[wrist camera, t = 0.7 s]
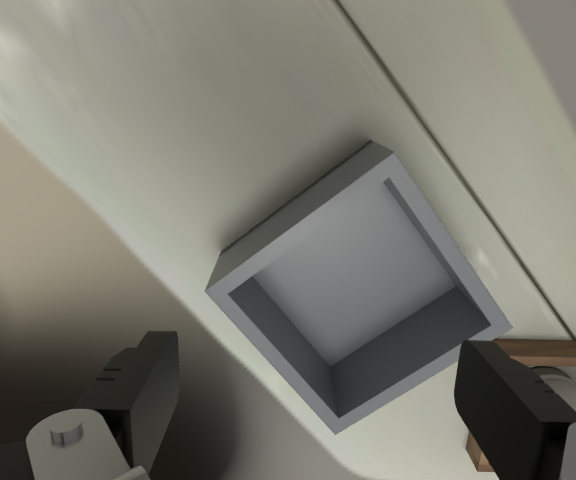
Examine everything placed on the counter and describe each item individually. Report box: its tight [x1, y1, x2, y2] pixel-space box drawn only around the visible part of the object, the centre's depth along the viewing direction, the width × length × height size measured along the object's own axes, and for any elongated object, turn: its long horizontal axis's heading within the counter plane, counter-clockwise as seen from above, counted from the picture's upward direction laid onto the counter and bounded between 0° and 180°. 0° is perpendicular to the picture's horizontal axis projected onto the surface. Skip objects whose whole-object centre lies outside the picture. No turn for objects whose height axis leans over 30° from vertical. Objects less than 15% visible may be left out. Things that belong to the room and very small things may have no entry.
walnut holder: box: [466, 339, 576, 472], centre depth 36 cm, size 12×11×2 cm
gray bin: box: [205, 140, 513, 435], centre depth 30 cm, size 14×14×7 cm
